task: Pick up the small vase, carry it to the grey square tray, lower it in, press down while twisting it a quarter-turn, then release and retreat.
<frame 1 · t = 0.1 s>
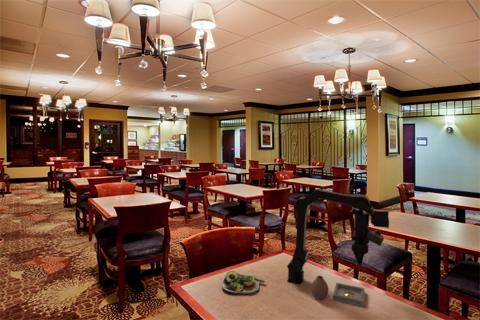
hand: (360, 260, 121), 15 cm above the table, fingers open, 9 cm apart
grey square tray: (348, 296, 120), on the table
vase: (319, 297, 119), on the table
salad plate: (239, 286, 130), on the table
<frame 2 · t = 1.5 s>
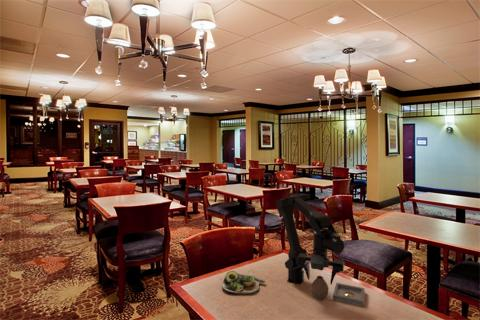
hand: (319, 281, 119), 7 cm above the table, fingers open, 9 cm apart
nothing on the table moved.
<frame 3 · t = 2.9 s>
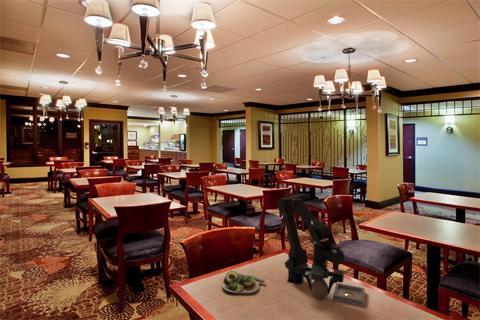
hand: (319, 291, 119), 2 cm above the table, fingers closed on vase, 7 cm apart
vase: (319, 297, 119), on the table, touching gripper
everything else where it was.
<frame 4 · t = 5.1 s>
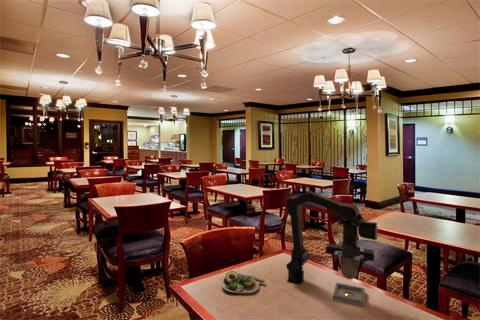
hand: (349, 271, 119), 11 cm above the table, fingers closed on vase, 7 cm apart
vase: (349, 277, 119), point 8 cm above the table, touching gripper
everything else where it was.
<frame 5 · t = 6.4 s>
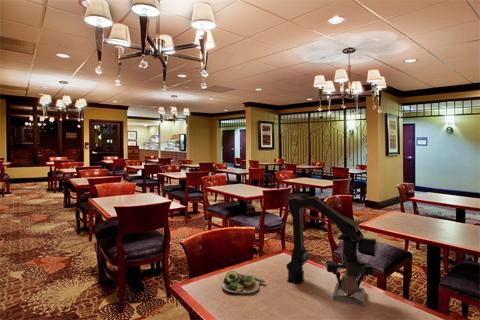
hand: (348, 287, 120), 4 cm above the table, fingers closed on vase, 7 cm apart
vase: (348, 292, 120), point 1 cm above the table, touching gripper
everything else where it was.
when the fingers open (3 cm above the table, at t = 7.7 s): vase stays where it is, resting on grey square tray.
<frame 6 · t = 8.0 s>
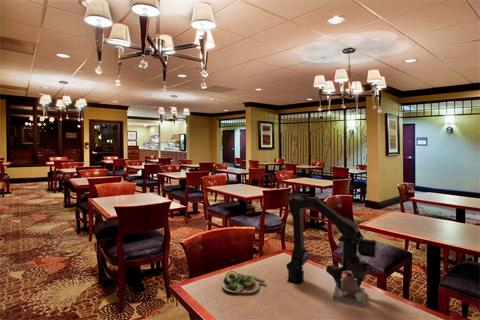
hand: (348, 288, 120), 3 cm above the table, fingers open, 9 cm apart
vase: (349, 294, 120), point 1 cm above the table, touching grey square tray
everything else where it was.
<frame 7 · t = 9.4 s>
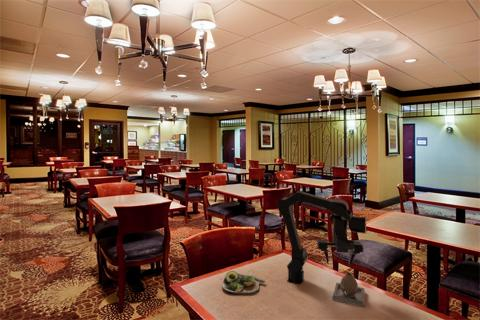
hand: (338, 264, 124), 12 cm above the table, fingers open, 9 cm apart
nothing on the table moved.
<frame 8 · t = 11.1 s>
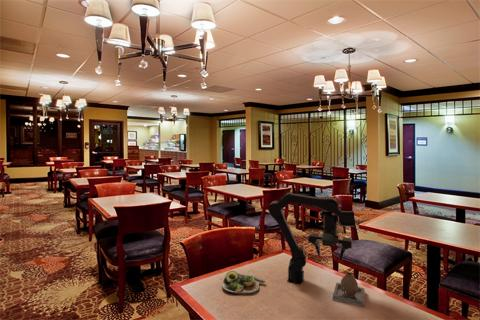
hand: (329, 258, 129), 12 cm above the table, fingers open, 9 cm apart
nothing on the table moved.
at the end: vase 0.1 cm off-centre on the grey square tray, point 0.7 cm above the grey square tray's base; vase tilted 1°; the gripper is holding nothing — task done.
